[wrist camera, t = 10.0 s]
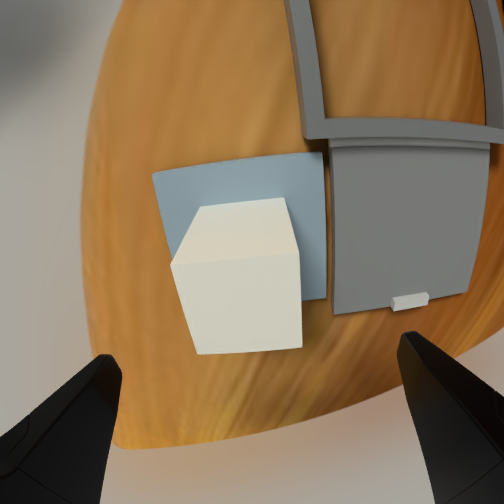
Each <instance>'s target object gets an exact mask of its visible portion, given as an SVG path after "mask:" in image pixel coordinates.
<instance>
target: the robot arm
mask: <svg viewBox="0 0 504 504" xmlns="http://www.w3.org/2000/svg"><path fill="white" fill-rule="evenodd" d="M503 4H504V0H503ZM397 360H398V364H399V368H400V372H401V377H402V381H403V386H404V390H405V395H406V399H407V403H408V406H409V409H410V412H411V416H412V419H413V422H414V425H415V428H416V432H417V435H418V438H419V441H420V445H421V449H422V452H423V456H424V459H425V463H426V467H427V471H428V475H429V479H430V483H431V487H432V491H433V496H434V500H435V504H504V397H503V396H502V395H501V394H499V393H498V392H497V391H495V390H494V389H493V388H491V387H490V386H489V385H488V384H486V383H485V382H484V381H482V380H481V379H480V378H478V377H477V376H476V375H475V374H473V373H472V372H471V371H469V370H468V369H467V368H465V367H464V366H463V365H461V364H460V363H459V362H457V361H456V360H455V359H453V358H452V357H451V356H449V355H448V354H446V353H445V352H444V351H442V350H441V349H440V348H438V347H437V346H436V345H434V344H433V343H431V342H430V341H429V340H427V339H426V338H425V337H423V336H422V335H420V334H419V333H418V332H416V331H410V332H405V333H403V334H402V335H401V339H400V343H399V346H398V350H397ZM121 383H122V372H121V369H120V368H119V366H118V364H117V363H116V361H115V359H114V358H113V356H112V355H109V354H100V355H99V356H97V357H96V358H95V359H94V360H92V361H91V362H90V363H89V364H88V365H86V366H85V367H84V368H83V369H82V370H81V371H79V372H78V373H77V374H76V375H74V376H73V377H72V378H71V379H70V380H69V381H67V382H66V383H65V384H64V385H63V386H61V387H60V388H59V389H58V390H57V391H55V392H54V393H53V394H52V395H51V396H50V397H48V398H47V399H46V400H45V401H44V402H43V403H41V404H40V405H39V406H38V407H37V408H35V409H34V410H33V411H32V412H31V413H30V415H27V416H26V417H25V418H24V419H23V420H21V422H19V423H18V424H17V425H15V426H14V427H13V428H12V429H11V430H9V431H8V432H7V433H5V434H4V435H2V436H1V437H0V504H100V498H101V491H102V486H103V480H104V474H105V469H106V464H107V458H108V454H109V449H110V444H111V440H112V435H113V431H114V426H115V422H116V417H117V411H118V404H119V397H120V390H121Z"/></svg>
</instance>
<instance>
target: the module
mask: <svg viewBox="0 0 504 504" xmlns="http://www.w3.org/2000/svg"><path fill="white" fill-rule="evenodd" d="M170 266H171V270H172V273H173V277H174V280H175V284H176V287H177V291H178V294H179V298H180V301H181V304H182V308H183V311H184V314H185V317H186V320H187V324H188V327H189V330H190V333H191V336H192V339H193V342H194V345H195V348H196V351H197V354H222V353H241V352H256V351H269V350H281V349H291V348H301V347H302V311H301V282H300V260H299V250H298V246H297V243H296V239H295V235H294V231H293V228H292V224H291V220H290V217H289V213H288V210H287V206H286V202H285V199H284V198H273V199H263V200H254V201H244V202H235V203H227V204H218V205H210V206H202V207H200V208H199V210H198V212H197V213H196V215H195V217H194V219H193V221H192V223H191V225H190V227H189V229H188V231H187V233H186V235H185V237H184V239H183V240H182V242H181V244H180V246H179V248H178V250H177V252H176V254H175V256H174V258H173V260H172V262H171V264H170Z"/></svg>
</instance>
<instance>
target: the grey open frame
mask: <svg viewBox="0 0 504 504" xmlns="http://www.w3.org/2000/svg"><path fill="white" fill-rule="evenodd" d="M470 1H471V5H472V9H473V13H474V18H475V22H476V27H477V32H478V38H479V43H480V50H481V57H482V64H483V73H484V84H485V98H486V125H480V124H472V123H464V122H455V121H445V120H434V119H419V118H399V117H332V118H325V116H324V105H323V96H322V87H321V78H320V70H319V62H318V55H317V48H316V41H315V35H314V28H313V22H312V16H311V11H310V5H309V0H284V4H285V10H286V16H287V22H288V28H289V34H290V41H291V48H292V55H293V62H294V69H295V77H296V85H297V93H298V102H299V111H300V121H301V131H302V136H303V137H305V138H306V139H324V138H328V152H329V168H330V188H331V219H332V291H331V308H332V311H333V314H334V315H336V314H343V313H351V312H358V311H364V310H371V309H377V308H384V307H390V306H391V308H392V309H393V311H397V310H403V309H409V308H414V307H419V306H424V305H428V301H429V299H434V298H439V297H444V296H449V295H454V294H458V293H463V292H467V290H468V286H469V283H470V279H471V275H472V271H473V267H474V263H475V258H476V254H477V249H478V244H479V239H480V234H481V229H482V223H483V216H484V210H485V202H486V194H487V185H488V174H489V159H490V150H489V149H490V142H491V143H499V144H504V34H503V29H502V24H501V20H500V16H499V11H498V8H497V4H496V0H470Z"/></svg>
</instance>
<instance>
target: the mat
mask: <svg viewBox="0 0 504 504" xmlns="http://www.w3.org/2000/svg"><path fill="white" fill-rule="evenodd" d="M152 178H153V183H154V187H155V192H156V196H157V201H158V205H159V209H160V214H161V218H162V222H163V226H164V230H165V234H166V238H167V242H168V246H169V249H170V253H171V257H172V260H173V258H174V256H175V254H176V252H177V250H178V248H179V246H180V244H181V242H182V240H183V239H184V237H185V235H186V233H187V231H188V229H189V227H190V225H191V223H192V221H193V219H194V217H195V215H196V213H197V212H198V210H199V208H200V207H202V206H210V205H218V204H227V203H235V202H244V201H254V200H263V199H273V198H284V199H285V202H286V206H287V210H288V213H289V217H290V220H291V224H292V228H293V231H294V235H295V239H296V243H297V246H298V250H299V260H300V282H301V301H304V300H313V299H322V298H326V214H325V189H324V171H323V156H322V152H321V151H317V152H303V153H291V154H280V155H270V156H261V157H252V158H244V159H236V160H228V161H221V162H214V163H207V164H201V165H194V166H188V167H182V168H176V169H171V170H165V171H160V172H155V173H153V174H152Z"/></svg>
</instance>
